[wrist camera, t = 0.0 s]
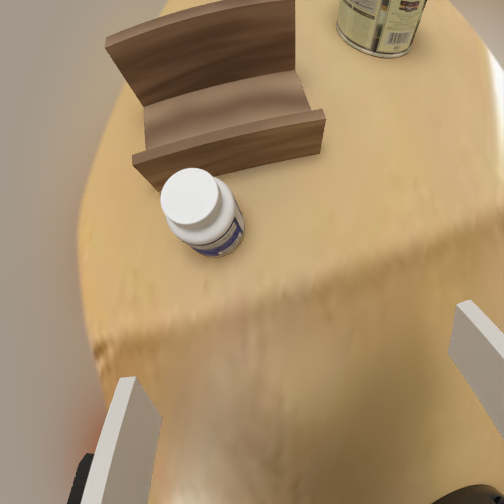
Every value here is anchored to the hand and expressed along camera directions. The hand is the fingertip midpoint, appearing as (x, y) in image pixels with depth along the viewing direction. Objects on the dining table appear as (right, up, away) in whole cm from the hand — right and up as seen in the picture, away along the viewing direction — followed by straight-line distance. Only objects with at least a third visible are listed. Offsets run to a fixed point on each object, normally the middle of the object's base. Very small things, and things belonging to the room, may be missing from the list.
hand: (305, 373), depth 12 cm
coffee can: (+14, +33, +21) cm, 41 cm away
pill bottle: (-5, +7, +18) cm, 20 cm away
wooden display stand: (-4, +17, +20) cm, 27 cm away
